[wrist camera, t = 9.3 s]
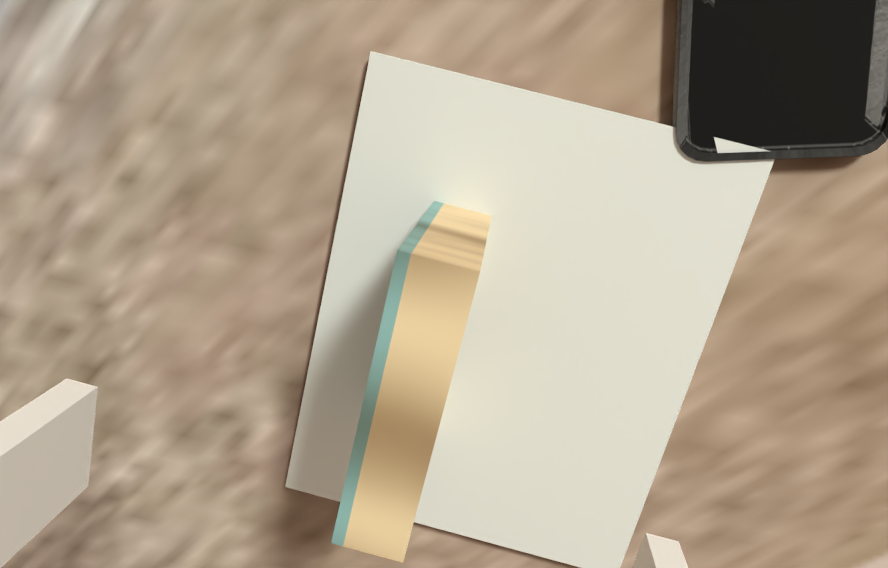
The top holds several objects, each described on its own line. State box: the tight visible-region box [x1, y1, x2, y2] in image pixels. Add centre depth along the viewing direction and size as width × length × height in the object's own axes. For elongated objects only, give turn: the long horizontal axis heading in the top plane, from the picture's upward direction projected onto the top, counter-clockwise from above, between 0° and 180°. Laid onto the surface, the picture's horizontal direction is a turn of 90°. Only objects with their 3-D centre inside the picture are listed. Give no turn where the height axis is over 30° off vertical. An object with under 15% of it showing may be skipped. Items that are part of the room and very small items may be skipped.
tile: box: [331, 201, 492, 563], centre depth 25 cm, size 10×2×9 cm, turn 166°
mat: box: [285, 51, 775, 568], centre depth 29 cm, size 16×20×1 cm
